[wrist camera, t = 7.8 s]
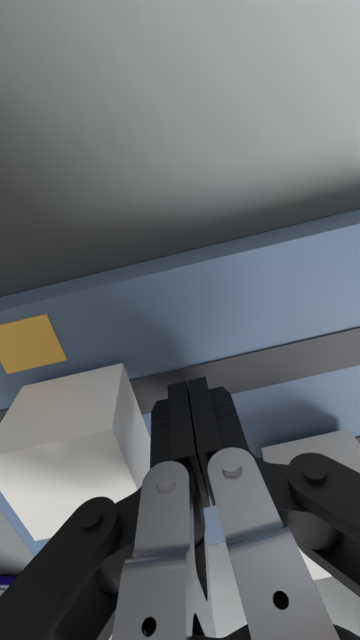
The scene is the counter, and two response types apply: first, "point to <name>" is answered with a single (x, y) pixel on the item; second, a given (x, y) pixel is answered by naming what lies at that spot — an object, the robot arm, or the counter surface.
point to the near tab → (71, 446)
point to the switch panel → (209, 333)
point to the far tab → (331, 445)
